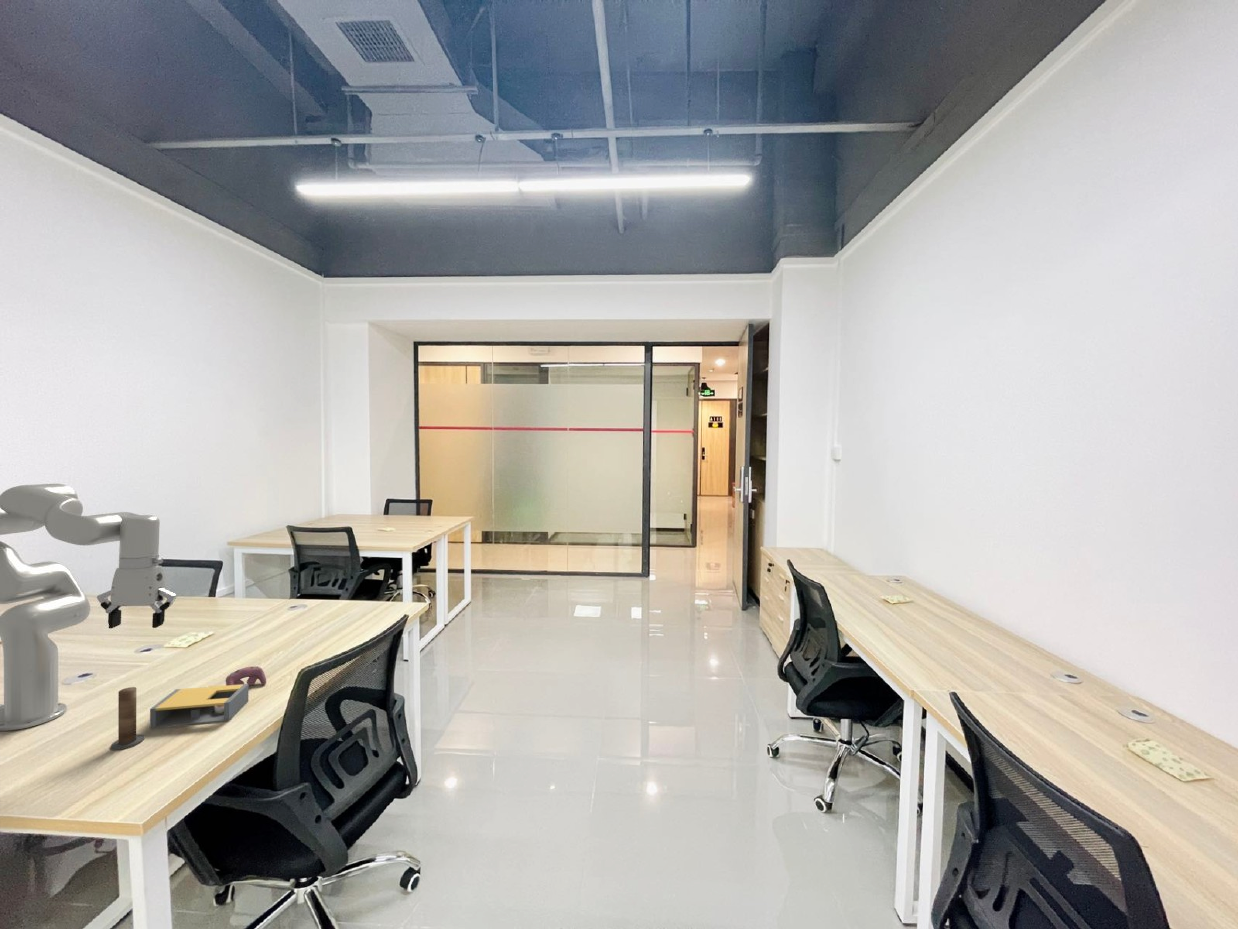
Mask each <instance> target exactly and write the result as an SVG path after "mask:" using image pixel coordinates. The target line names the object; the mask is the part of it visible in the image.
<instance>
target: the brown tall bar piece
mask: <svg viewBox="0 0 1238 929" xmlns="http://www.w3.org/2000/svg"><path fill="white" fill-rule="evenodd" d="M117 693H118V701H117V702H118V708H117V709H118V714H117V716H118V717H117V718H118V719H117V720H118V724H117V725H118V730H117V731H118V737H117V738H118V739H117V740H118V744H119V745H126V744H130V743H132V742H134V741H135V740H136V735H137V687H135V686H129V687H126V688H123V689H121V690H118V692H117Z"/></svg>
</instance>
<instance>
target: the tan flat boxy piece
mask: <svg viewBox="0 0 1238 929" xmlns="http://www.w3.org/2000/svg"><path fill="white" fill-rule="evenodd" d="M249 686H250V685H249V684H247V683H244V684H241V685H228V686H226V685H218V686H217V685H216V686H203V687H202V686H201V687H192V688H179V689H178V688H176V689H174V690H173V691H171V693H169V694H168V695H166V696H165V697H164V698H163V699H161V700H160V701H159V702H157V703H156V704H155V705H154V706H152V707H150V708H149V729H157V728H159V729H160V728H168V727H169V728H171V727H180V726H190V725H200V724H201V725H202V724H212V723H222V722H230V721H232V719H233V718H234V717H235V715H237V714H238V713H239V712H240V711H241V710H242V709H243V707H245V705H246V704H247V703H248V702H249ZM217 705H224V712H223V713H215V706H217Z"/></svg>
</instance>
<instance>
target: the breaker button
mask: <svg viewBox="0 0 1238 929" xmlns="http://www.w3.org/2000/svg"><path fill="white" fill-rule="evenodd" d="M223 712H224V705H217V706H215V713H223Z"/></svg>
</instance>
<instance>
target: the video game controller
mask: <svg viewBox="0 0 1238 929" xmlns="http://www.w3.org/2000/svg"><path fill="white" fill-rule="evenodd" d="M245 678H248V679H247V680H246V684H249V686H253V685H255V684H256V682H257V680H259V682H260V683H261V685H263V686H265V685H266V684H267V678H266V674H265V671H264V670H263V668H261V667H259V666H254V665H253V666H248V667H247V666H246V667H242V668H239V669H237V670H235V671H232V672H231V673H230V674H228V675H227V676H226V677H225V686H228V685H241V684H245V683H244V681H243V680H242V679H245Z"/></svg>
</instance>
